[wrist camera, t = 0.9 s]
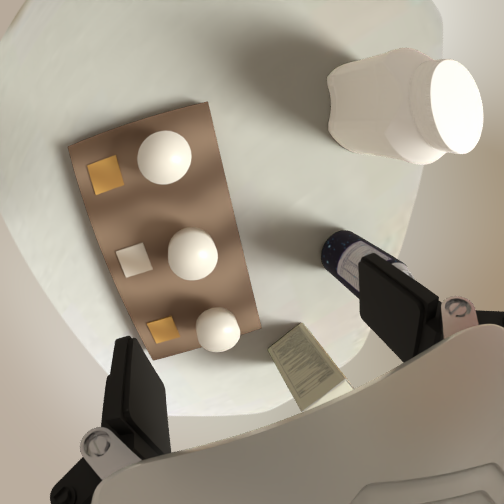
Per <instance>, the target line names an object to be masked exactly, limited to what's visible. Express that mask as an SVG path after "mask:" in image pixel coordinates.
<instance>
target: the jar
mask: <svg viewBox="0 0 504 504" xmlns="http://www.w3.org/2000/svg"><path fill="white" fill-rule="evenodd" d="M327 86H328V89H329V93H330V99H331V112H330V118H329V121H328V131H329V133H330V134H331V135H332V137H333V138H334V139H335V140H336V141H337V142H338V143H339V144H340V145H341V146H342V147H344V148H345V149H347V150H349V151H351V152H354V153H358V154H364V155H376V156H382V157H388V158H393V159H399V160H403V161H406V162H409V163H414V164H421V165H423V164H429V163H432V162H434V161H436V160H437V159H439V158H440V157H441V156H442V155H444V154H445V153H446V152H450V153H457V154H465V153H468V152H470V151H471V150H472V149H473V148H474V147H475V146H476V144H477V142H478V140H479V138H480V135H481V132H482V126H483V107H482V101H481V96H480V93H479V90H478V87H477V85H476V83H475V81H474V79H473V78H472V76H471V74H470V73H469V72H468V70H467V69H466V68H465V67H464V66H463V65H462V64H460V63H459V62H457V61H455V60H452V59H442V60H433V59H432V58H430V57H429V56H427V55H426V54H424V53H422V52H420V51H418V50H415V49H411V48H399V49H395V50H392V51H389V52H387V53H384V54H380V55H376V56H373V57H369V58H365V59H362V60H359V61H354V62H349V63H346V64H343V65H341V66H339V67H337V68H335V69H334V70H333V71H332V72H331V73H330V74H329V75H328V77H327Z"/></svg>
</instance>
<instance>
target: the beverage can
mask: <svg viewBox="0 0 504 504" xmlns="http://www.w3.org/2000/svg"><path fill="white" fill-rule="evenodd" d="M371 253H376V254H377V255H379V256H380V257H382V258H383V259H385V260H386V261H388V262H389V263H391V264H392V265H394V266H395V267H397V268H398V269H400V270H401V271H403V272H404V273H406V274H407V275H408V276H410V277H411V278H413V279H414V277H413V275H412V273H410V272H409V270H408V268H407V266H406V265H405V264H404V263H403V262H401V261H399V260H398V259H396V258H395V257H393V256H391V255H390V254H388V253H386V252H385V251H383V250H381V249H380V248H378V247H376V246H375V245H373V244H371V243H370V242H368V241H366V240H365V239H363V238H361V237H360V236H358V235H356V234H354V233H353V232H351V231H346V230H344V231H339V232H337V233H335V234H333V235H332V236H331V237H330V238H329V239H328V240H327V241H326V243H325V244H324V246H323V249H322V254H321V260H322V264H323V266H324V267H325V269H326V270H327V271H329V272H330V273H331V274H332V275H333V276H334V277H335V278H336V279H338V280H339V281H340V282H341V283H342V284H343V285H344V286H345V287H346V288H348V289H349V290H350V291H351V292H352V293H353V294H354V295H355V296H356V297H358V298H359V272H358V263H359V262H360V261H361V258H362V257H363V256H366V255H368V254H371Z"/></svg>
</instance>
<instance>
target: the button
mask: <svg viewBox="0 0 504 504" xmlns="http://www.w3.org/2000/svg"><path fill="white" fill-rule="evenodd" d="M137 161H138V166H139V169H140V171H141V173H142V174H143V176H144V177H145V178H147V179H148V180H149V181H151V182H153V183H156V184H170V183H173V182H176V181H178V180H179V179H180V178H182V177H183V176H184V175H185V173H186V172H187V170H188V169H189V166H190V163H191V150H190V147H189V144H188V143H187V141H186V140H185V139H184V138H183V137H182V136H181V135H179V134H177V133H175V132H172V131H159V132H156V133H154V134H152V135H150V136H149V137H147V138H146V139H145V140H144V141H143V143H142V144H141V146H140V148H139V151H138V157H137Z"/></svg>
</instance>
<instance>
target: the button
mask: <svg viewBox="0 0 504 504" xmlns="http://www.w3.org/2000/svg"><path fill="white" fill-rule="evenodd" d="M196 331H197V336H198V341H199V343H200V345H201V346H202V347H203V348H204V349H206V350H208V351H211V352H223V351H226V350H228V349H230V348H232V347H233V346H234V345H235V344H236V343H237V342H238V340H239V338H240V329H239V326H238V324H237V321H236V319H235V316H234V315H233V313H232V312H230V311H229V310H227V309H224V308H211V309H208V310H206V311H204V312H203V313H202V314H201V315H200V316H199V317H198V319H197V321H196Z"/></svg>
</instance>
